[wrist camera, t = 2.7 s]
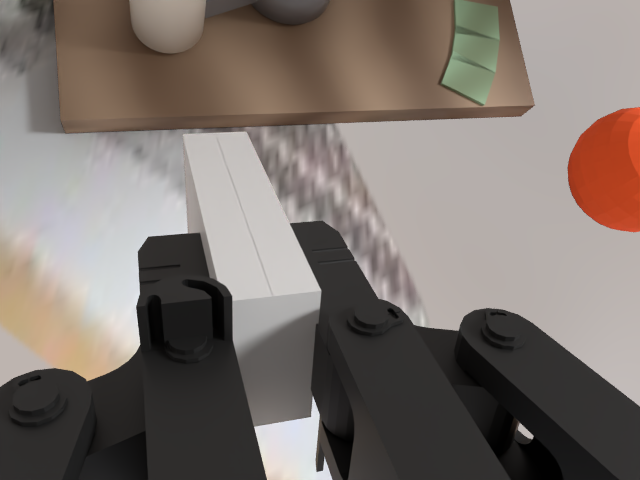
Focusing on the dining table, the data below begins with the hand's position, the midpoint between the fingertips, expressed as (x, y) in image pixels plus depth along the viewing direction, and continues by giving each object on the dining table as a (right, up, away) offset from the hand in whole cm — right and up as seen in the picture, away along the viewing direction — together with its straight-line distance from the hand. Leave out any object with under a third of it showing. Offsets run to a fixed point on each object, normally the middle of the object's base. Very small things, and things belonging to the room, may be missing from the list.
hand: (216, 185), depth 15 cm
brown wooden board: (+1, +13, +21) cm, 24 cm away
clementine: (+19, +1, +22) cm, 30 cm away
